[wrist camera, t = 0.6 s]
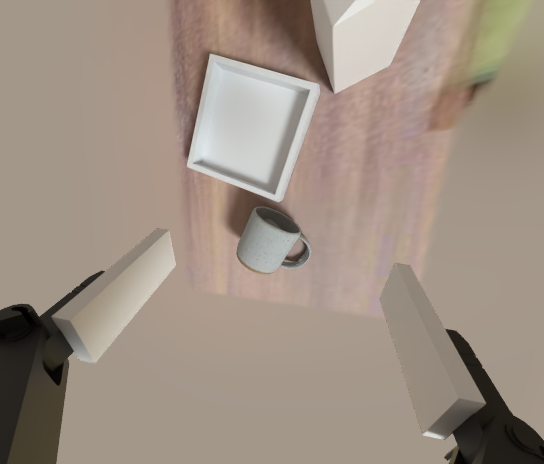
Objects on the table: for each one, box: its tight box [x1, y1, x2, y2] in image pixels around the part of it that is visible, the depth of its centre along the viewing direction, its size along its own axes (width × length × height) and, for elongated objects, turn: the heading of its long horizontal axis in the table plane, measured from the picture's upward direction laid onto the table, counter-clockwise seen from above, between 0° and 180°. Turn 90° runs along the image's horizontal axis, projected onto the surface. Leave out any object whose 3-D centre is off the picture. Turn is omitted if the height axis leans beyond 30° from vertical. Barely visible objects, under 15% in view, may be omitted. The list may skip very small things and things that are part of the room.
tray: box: [187, 53, 321, 202], centre depth 34 cm, size 16×16×3 cm
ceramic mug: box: [237, 206, 312, 274], centre depth 34 cm, size 11×8×8 cm
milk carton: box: [310, 0, 420, 94], centre depth 21 cm, size 7×7×19 cm
